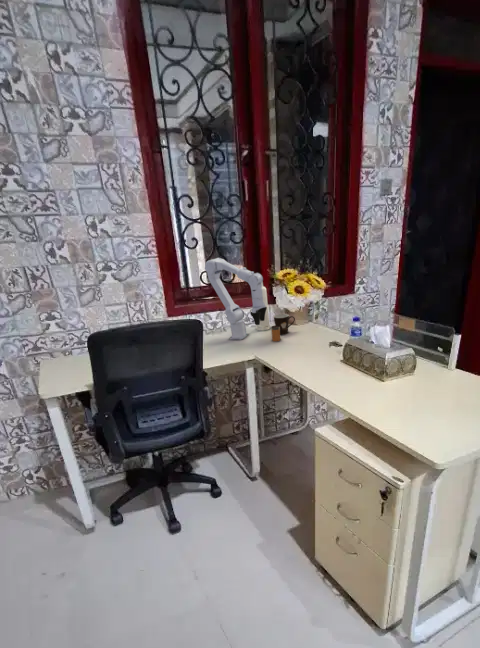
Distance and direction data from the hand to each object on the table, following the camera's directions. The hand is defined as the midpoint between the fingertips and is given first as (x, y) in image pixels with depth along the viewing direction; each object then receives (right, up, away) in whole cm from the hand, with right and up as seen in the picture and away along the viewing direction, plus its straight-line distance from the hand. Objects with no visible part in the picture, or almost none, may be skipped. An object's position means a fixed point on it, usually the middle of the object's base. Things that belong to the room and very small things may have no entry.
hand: (259, 322), depth 227 cm
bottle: (+1, +2, +23) cm, 23 cm away
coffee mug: (+14, -4, +11) cm, 18 cm away
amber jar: (+9, -9, +1) cm, 13 cm away
